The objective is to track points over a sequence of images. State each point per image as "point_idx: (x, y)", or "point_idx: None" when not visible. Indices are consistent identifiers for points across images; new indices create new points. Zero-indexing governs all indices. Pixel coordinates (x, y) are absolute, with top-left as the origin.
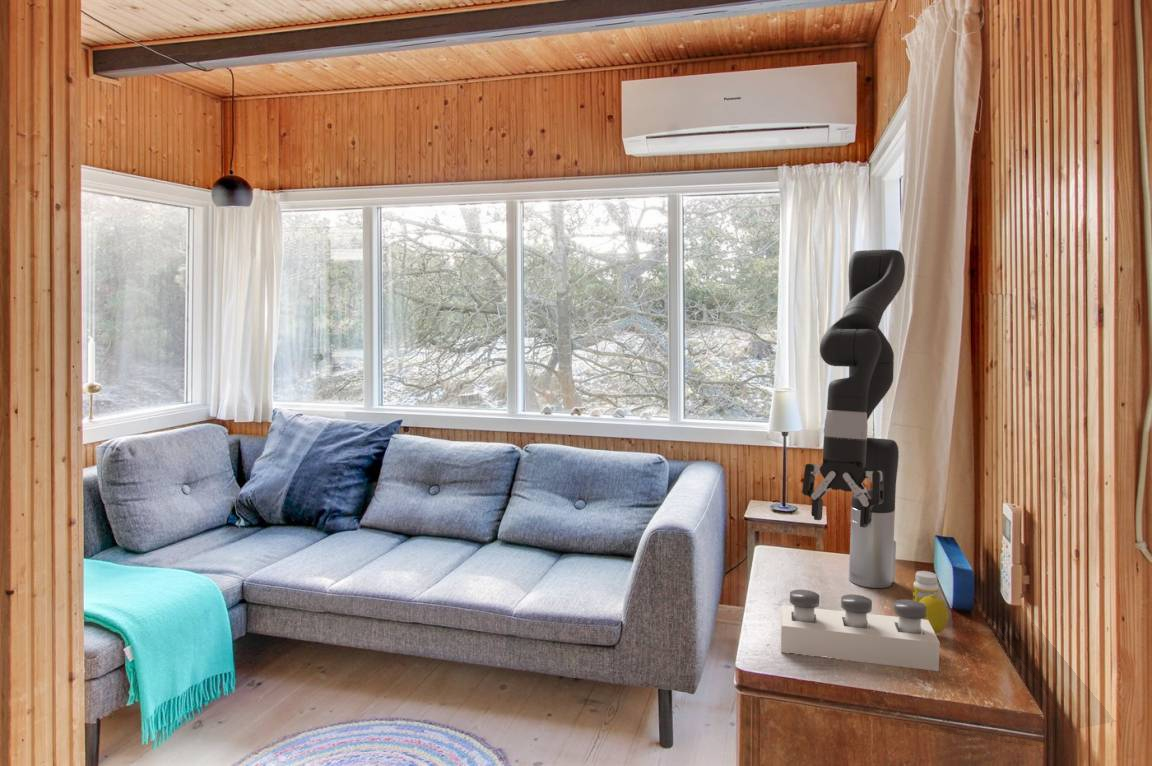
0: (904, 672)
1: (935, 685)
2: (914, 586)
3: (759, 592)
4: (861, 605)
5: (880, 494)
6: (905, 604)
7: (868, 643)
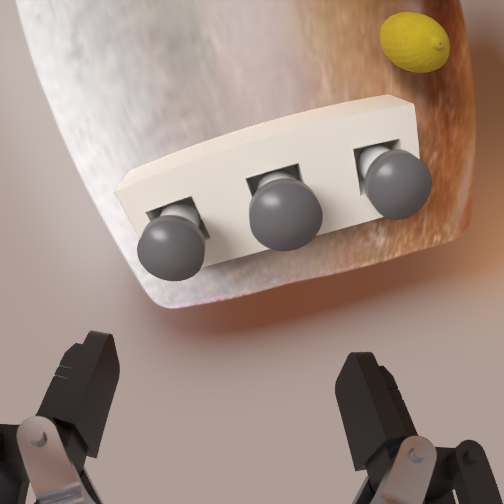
0: None
1: (390, 228)
2: None
3: (28, 29)
4: (302, 245)
5: (477, 489)
6: (393, 191)
7: None
